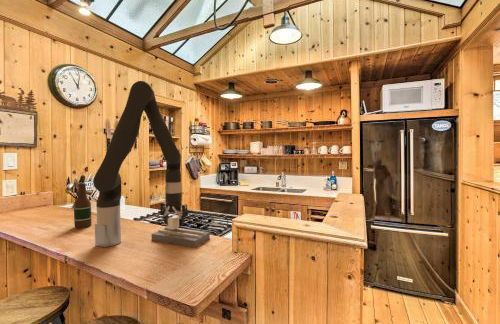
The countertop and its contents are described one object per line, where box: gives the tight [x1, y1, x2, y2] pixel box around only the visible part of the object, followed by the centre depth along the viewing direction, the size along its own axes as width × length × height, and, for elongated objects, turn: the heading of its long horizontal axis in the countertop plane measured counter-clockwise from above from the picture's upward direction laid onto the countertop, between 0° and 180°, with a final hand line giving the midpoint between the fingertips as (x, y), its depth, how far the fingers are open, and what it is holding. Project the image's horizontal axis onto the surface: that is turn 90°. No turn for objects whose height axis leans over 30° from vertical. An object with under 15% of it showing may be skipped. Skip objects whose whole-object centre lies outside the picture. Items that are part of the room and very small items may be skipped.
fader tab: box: [167, 215, 181, 232], centre depth 117 cm, size 5×3×7 cm, turn 159°
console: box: [151, 226, 211, 249], centre depth 115 cm, size 12×24×4 cm, turn 69°
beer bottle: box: [73, 182, 92, 230], centre depth 134 cm, size 8×8×24 cm
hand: (173, 225), depth 117 cm, fingers open, 8 cm apart
